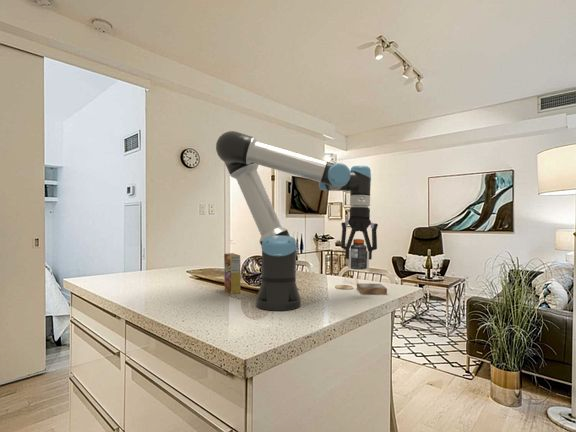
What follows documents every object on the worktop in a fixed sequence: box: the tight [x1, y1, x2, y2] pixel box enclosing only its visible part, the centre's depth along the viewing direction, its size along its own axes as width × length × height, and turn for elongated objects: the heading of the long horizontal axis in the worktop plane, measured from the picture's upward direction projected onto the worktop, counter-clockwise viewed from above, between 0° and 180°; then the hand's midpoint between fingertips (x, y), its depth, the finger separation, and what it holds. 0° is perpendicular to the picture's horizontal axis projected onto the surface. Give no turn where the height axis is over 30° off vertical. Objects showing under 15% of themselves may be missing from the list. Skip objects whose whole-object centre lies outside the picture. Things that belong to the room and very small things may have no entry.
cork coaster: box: [334, 284, 354, 291], centre depth 144 cm, size 8×8×1 cm
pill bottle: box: [350, 238, 368, 271], centre depth 125 cm, size 6×6×11 cm
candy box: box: [223, 252, 241, 295], centre depth 134 cm, size 9×4×15 cm, turn 28°
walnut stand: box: [356, 282, 388, 296], centre depth 136 cm, size 10×10×3 cm
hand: (358, 267), depth 125 cm, fingers closed on pill bottle, 6 cm apart
